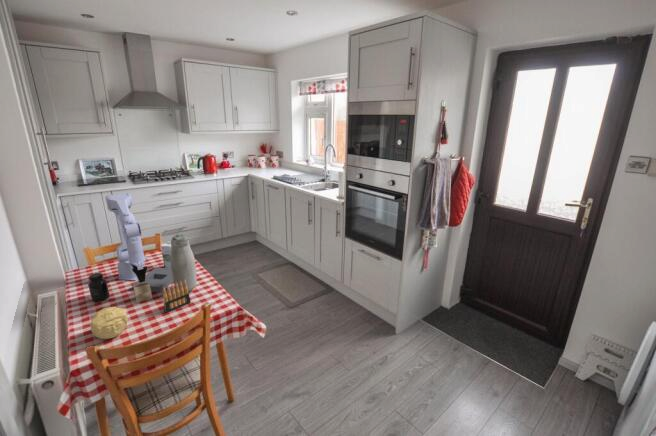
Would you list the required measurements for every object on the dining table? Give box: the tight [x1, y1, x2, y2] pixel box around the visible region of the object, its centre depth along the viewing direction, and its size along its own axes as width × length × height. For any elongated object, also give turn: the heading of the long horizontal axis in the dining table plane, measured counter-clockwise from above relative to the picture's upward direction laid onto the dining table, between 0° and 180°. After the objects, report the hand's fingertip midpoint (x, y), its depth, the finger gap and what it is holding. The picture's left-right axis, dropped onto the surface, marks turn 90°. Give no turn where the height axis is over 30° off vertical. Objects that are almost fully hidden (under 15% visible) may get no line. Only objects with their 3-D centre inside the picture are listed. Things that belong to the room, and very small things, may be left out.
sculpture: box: [90, 306, 129, 340], centre depth 122 cm, size 11×12×11 cm
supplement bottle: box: [87, 272, 111, 303], centre depth 144 cm, size 7×7×12 cm
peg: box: [132, 282, 153, 303], centre depth 146 cm, size 6×4×7 cm, turn 127°
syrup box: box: [160, 241, 171, 269], centre depth 174 cm, size 6×6×14 cm
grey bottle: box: [170, 233, 198, 292], centre depth 150 cm, size 10×10×28 cm
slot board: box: [131, 267, 174, 293], centre depth 161 cm, size 14×18×3 cm
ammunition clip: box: [162, 279, 191, 314], centre depth 139 cm, size 11×2×12 cm, turn 138°
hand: (140, 278), depth 144 cm, fingers open, 7 cm apart
